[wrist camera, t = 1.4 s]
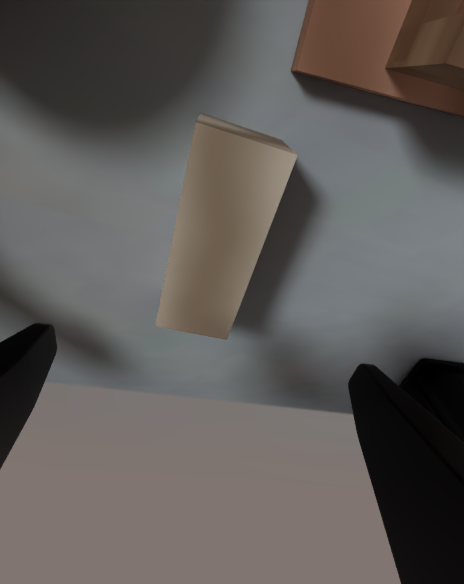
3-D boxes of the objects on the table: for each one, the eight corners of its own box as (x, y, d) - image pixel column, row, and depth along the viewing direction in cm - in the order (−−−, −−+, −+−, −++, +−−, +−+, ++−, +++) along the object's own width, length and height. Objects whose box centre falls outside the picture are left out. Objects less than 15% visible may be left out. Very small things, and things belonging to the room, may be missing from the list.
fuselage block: (280, 139, 15) (297, 154, 12) (225, 297, 20) (227, 339, 17) (200, 112, 14) (195, 122, 11) (165, 285, 20) (155, 326, 16)
